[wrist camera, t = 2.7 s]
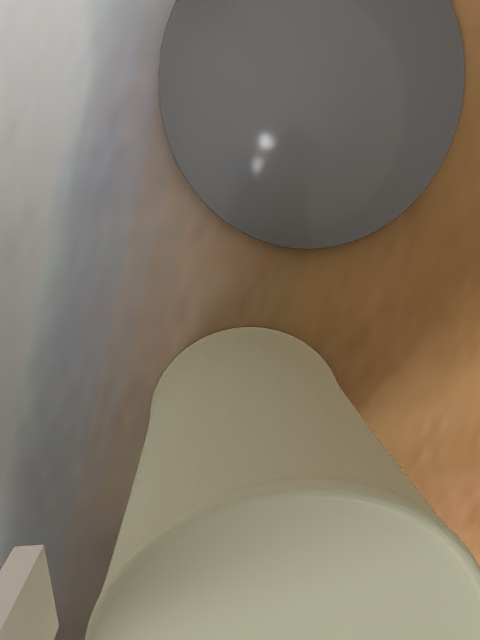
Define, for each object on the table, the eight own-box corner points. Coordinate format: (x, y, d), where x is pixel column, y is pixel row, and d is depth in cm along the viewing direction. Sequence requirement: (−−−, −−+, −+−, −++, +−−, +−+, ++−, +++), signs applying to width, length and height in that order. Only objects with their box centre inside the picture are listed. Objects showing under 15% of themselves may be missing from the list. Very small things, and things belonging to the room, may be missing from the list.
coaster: (172, 253, 18) (170, 254, 18) (146, -86, 15) (144, -98, 14) (442, 242, 19) (450, 243, 18) (470, -83, 16) (480, -94, 15)
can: (136, 487, 21) (46, 834, 9) (168, 308, 19) (104, 466, 7) (314, 511, 22) (433, 848, 10) (363, 345, 20) (583, 534, 8)
